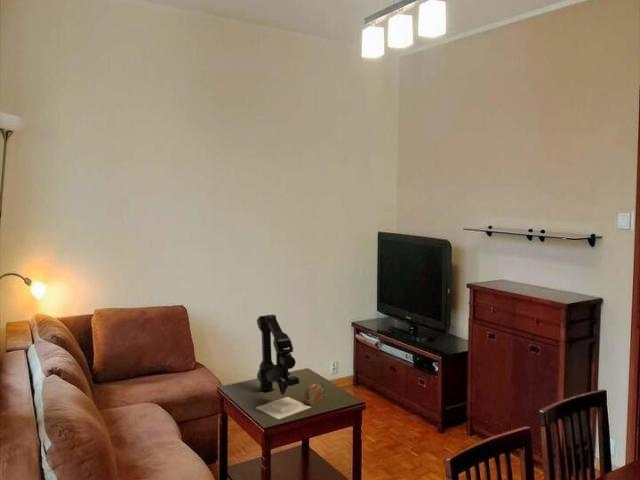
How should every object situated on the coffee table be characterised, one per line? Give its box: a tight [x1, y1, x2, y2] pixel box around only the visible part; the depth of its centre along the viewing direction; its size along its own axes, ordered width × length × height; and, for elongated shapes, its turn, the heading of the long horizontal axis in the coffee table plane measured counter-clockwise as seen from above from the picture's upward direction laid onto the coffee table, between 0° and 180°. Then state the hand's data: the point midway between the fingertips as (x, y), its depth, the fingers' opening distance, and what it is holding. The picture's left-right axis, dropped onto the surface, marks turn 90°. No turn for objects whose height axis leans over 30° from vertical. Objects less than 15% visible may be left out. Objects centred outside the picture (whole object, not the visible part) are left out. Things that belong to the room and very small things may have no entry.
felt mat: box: [255, 396, 312, 420], centre depth 255 cm, size 18×20×1 cm
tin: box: [304, 382, 325, 406], centre depth 263 cm, size 15×3×8 cm, turn 148°
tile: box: [271, 396, 300, 413], centre depth 254 cm, size 3×10×8 cm
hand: (282, 394), depth 254 cm, fingers closed
